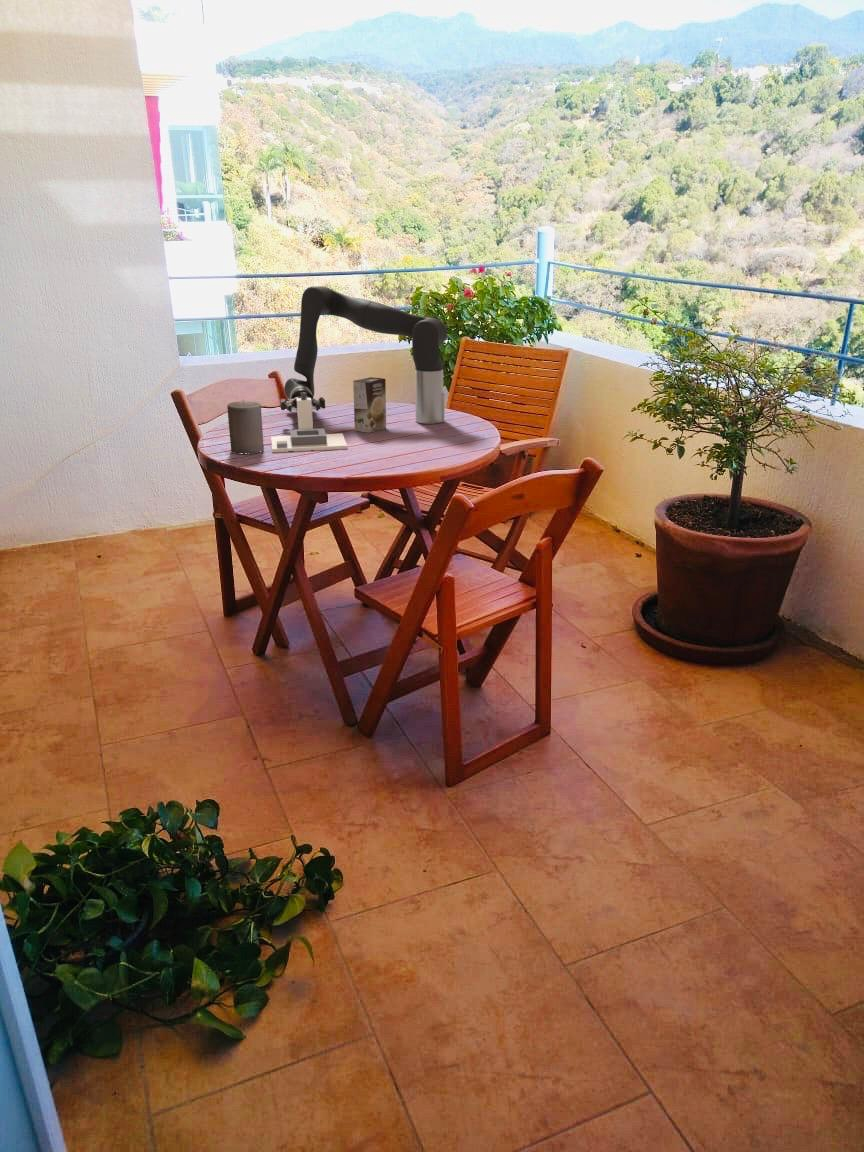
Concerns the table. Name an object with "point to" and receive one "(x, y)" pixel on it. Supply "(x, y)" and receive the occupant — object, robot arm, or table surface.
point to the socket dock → (329, 446)
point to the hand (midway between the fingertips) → (304, 408)
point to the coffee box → (369, 404)
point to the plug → (304, 412)
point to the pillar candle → (245, 427)
